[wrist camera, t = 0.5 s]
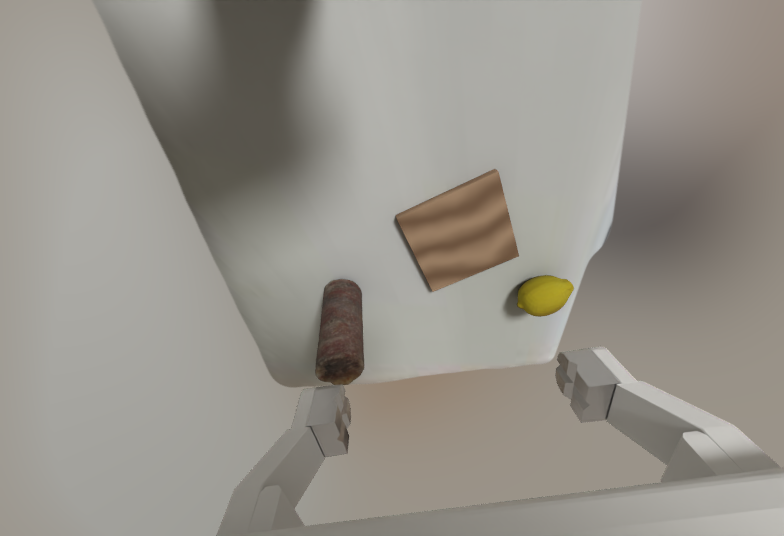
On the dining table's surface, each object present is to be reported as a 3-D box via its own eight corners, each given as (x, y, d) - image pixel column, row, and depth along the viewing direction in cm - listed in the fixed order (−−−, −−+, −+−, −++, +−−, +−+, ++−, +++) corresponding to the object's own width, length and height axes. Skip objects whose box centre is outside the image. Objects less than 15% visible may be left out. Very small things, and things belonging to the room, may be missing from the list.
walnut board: (395, 215, 52) (396, 218, 51) (494, 168, 49) (498, 171, 48) (431, 287, 62) (432, 291, 61) (515, 252, 59) (519, 256, 58)
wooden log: (345, 268, 57) (341, 350, 41) (369, 291, 61) (375, 374, 44) (316, 289, 59) (301, 375, 43) (341, 310, 63) (336, 396, 46)
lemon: (510, 304, 67) (528, 330, 60) (506, 278, 63) (523, 303, 56) (559, 288, 66) (582, 313, 59) (557, 260, 62) (582, 284, 55)
